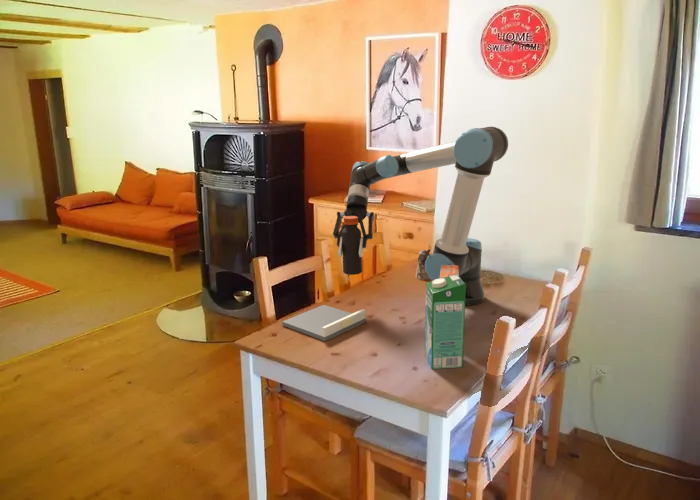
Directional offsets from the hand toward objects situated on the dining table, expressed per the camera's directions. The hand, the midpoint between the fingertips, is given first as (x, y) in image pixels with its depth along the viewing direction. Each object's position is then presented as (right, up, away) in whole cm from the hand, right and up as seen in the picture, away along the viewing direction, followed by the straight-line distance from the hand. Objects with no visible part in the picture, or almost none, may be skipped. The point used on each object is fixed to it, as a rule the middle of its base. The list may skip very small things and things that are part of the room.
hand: (350, 254), depth 197 cm
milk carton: (+27, -31, -33) cm, 52 cm away
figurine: (+31, -10, +41) cm, 53 cm away
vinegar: (+1, -6, +5) cm, 8 cm away
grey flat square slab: (-9, -23, -4) cm, 25 cm away
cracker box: (+32, -25, -13) cm, 42 cm away
